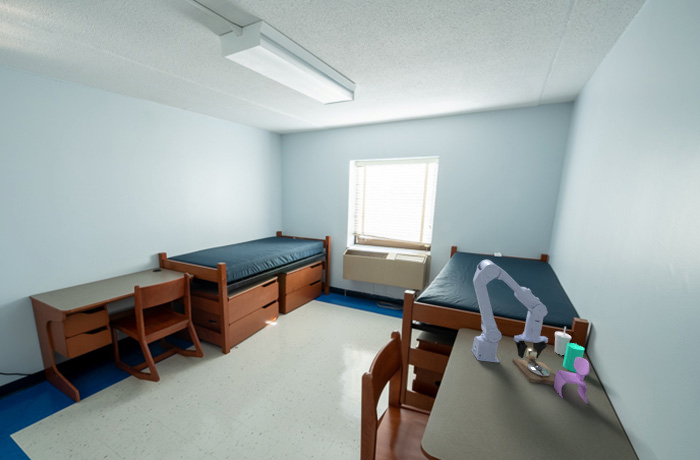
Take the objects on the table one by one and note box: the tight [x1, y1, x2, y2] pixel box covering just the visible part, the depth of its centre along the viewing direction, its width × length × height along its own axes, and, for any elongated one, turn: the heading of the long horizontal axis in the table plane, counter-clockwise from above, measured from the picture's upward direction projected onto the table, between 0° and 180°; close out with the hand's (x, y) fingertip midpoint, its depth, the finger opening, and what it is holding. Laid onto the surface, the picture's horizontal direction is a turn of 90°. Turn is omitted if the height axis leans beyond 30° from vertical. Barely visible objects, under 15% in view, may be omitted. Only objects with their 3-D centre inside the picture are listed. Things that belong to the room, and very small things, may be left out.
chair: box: [553, 357, 590, 405], centre depth 101 cm, size 8×9×15 cm
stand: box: [512, 358, 556, 386], centre depth 114 cm, size 13×13×2 cm
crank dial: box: [525, 347, 550, 377], centre depth 115 cm, size 12×8×5 cm, turn 171°
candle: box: [562, 342, 585, 373], centre depth 119 cm, size 6×6×12 cm
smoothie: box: [554, 326, 572, 356], centre depth 130 cm, size 6×6×14 cm
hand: (527, 356), depth 119 cm, fingers open, 6 cm apart
